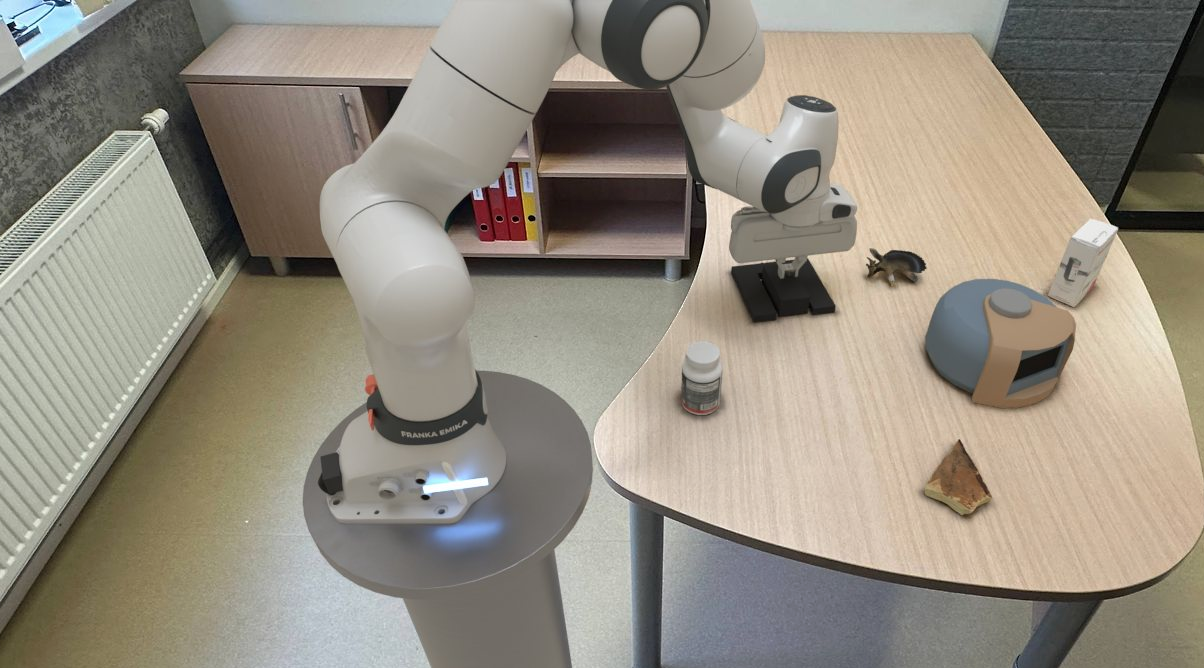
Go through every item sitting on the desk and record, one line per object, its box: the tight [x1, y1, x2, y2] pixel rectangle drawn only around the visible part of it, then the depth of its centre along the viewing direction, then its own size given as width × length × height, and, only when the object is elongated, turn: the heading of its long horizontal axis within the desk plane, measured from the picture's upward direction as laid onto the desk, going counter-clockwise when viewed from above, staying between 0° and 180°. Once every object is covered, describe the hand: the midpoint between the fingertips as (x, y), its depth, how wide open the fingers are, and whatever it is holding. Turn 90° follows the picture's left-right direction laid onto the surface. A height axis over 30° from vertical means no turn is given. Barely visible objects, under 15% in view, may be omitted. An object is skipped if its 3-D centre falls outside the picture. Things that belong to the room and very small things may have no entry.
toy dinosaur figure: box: [865, 247, 928, 288], centre depth 135 cm, size 8×7×9 cm
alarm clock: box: [924, 278, 1077, 409], centre depth 117 cm, size 19×20×12 cm
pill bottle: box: [680, 340, 724, 416], centre depth 111 cm, size 6×6×10 cm
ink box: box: [1047, 218, 1119, 308], centre depth 131 cm, size 9×5×12 cm, turn 137°
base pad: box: [730, 257, 837, 324], centre depth 133 cm, size 14×14×2 cm
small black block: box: [761, 262, 810, 318], centre depth 131 cm, size 5×10×4 cm, turn 12°
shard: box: [924, 438, 993, 516], centre depth 103 cm, size 11×8×2 cm
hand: (787, 275), depth 129 cm, fingers closed
